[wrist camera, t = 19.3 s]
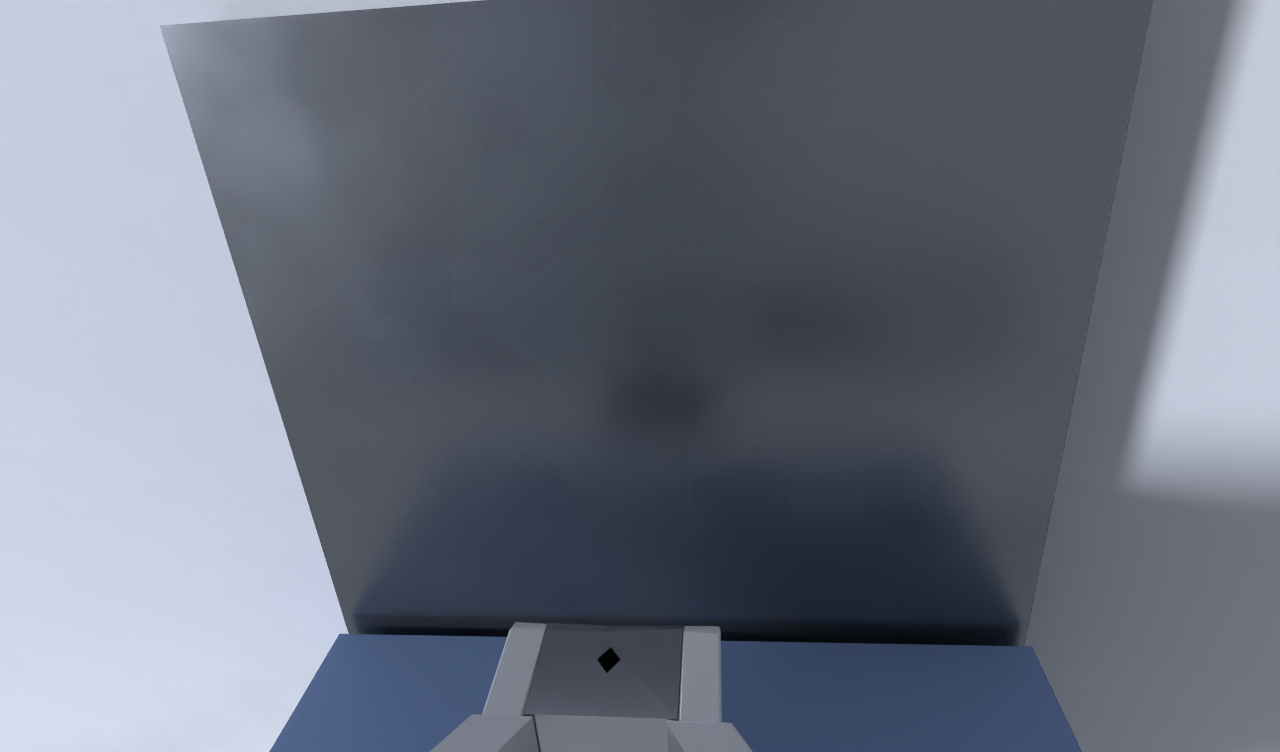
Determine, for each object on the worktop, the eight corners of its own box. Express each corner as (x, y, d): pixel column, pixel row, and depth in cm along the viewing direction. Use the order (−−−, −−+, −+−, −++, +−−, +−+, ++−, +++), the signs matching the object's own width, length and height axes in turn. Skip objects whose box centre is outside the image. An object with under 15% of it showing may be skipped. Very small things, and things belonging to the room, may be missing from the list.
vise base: (218, 21, 13) (-500, 65, 5) (1111, -48, 11) (1904, -128, 4) (456, 872, 23) (325, 1307, 15) (946, 898, 21) (1070, 1397, 14)
